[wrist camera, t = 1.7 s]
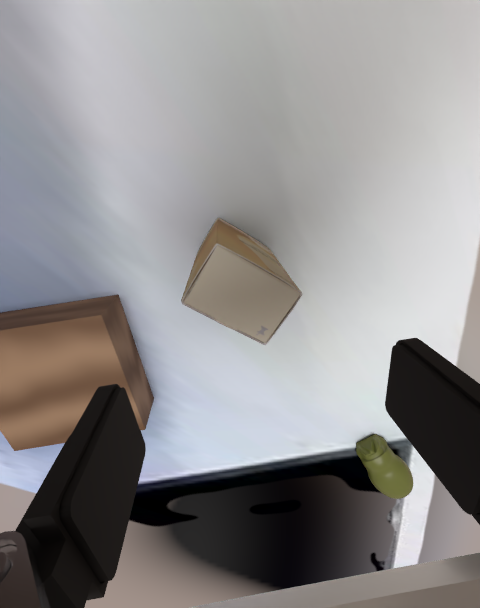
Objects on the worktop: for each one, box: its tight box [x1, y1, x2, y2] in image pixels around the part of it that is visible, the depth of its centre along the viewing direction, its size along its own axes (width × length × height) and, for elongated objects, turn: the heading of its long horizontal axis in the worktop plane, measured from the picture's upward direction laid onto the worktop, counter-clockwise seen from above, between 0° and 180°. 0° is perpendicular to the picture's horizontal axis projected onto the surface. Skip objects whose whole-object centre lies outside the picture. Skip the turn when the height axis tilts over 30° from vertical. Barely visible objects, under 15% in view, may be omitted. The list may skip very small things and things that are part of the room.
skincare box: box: [181, 218, 302, 345], centre depth 22 cm, size 6×4×12 cm
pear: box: [356, 434, 413, 499], centre depth 40 cm, size 6×5×10 cm
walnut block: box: [0, 295, 154, 451], centre depth 29 cm, size 14×14×5 cm
